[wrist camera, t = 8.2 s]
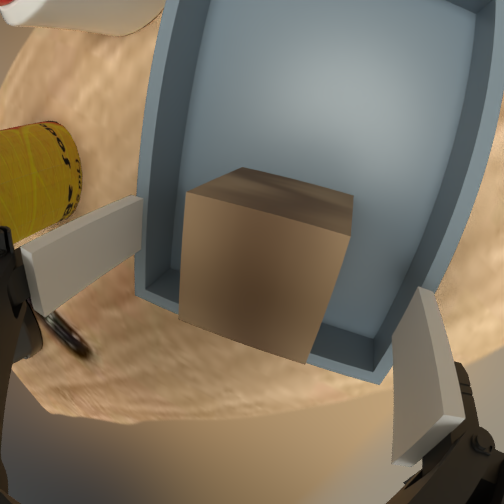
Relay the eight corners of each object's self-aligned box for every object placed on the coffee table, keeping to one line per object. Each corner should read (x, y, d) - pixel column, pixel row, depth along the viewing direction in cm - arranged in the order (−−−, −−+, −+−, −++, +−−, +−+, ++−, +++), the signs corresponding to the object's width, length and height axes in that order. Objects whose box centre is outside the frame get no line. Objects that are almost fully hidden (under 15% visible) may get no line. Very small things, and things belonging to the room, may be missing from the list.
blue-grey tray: (166, 269, 22) (135, 295, 19) (217, -43, 12) (186, -68, 9) (379, 343, 19) (379, 384, 16) (484, 13, 9) (510, -8, 6)
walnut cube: (227, 264, 19) (178, 319, 14) (242, 166, 16) (186, 191, 11) (323, 294, 18) (305, 364, 13) (353, 195, 15) (350, 236, 10)
